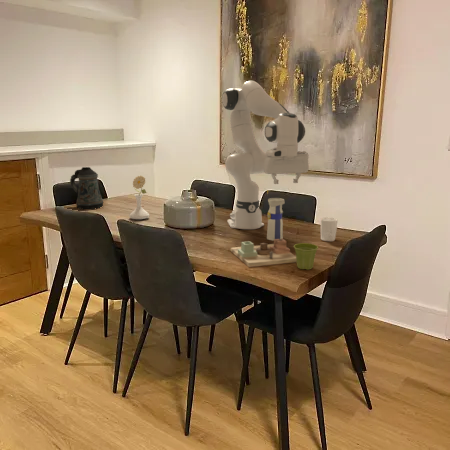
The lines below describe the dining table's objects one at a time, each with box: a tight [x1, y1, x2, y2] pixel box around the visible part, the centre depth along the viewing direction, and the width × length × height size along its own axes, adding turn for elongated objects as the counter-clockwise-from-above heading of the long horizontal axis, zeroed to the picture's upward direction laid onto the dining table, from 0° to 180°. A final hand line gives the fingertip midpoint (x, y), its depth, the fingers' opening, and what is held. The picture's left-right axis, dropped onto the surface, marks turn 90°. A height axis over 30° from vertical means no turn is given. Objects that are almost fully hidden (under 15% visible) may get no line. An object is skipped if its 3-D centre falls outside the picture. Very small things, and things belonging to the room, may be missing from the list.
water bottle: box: [266, 191, 285, 242], centre depth 218 cm, size 8×9×25 cm
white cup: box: [320, 217, 338, 242], centre depth 219 cm, size 8×8×10 cm
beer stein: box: [69, 166, 104, 210], centre depth 287 cm, size 16×19×25 cm
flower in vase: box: [129, 175, 151, 220], centre depth 256 cm, size 13×11×25 cm
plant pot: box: [293, 242, 319, 270], centre depth 180 cm, size 9×9×9 cm
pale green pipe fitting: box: [238, 240, 257, 257], centre depth 191 cm, size 6×6×5 cm
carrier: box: [230, 238, 297, 268], centre depth 194 cm, size 22×22×7 cm
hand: (285, 183), depth 201 cm, fingers open, 8 cm apart
